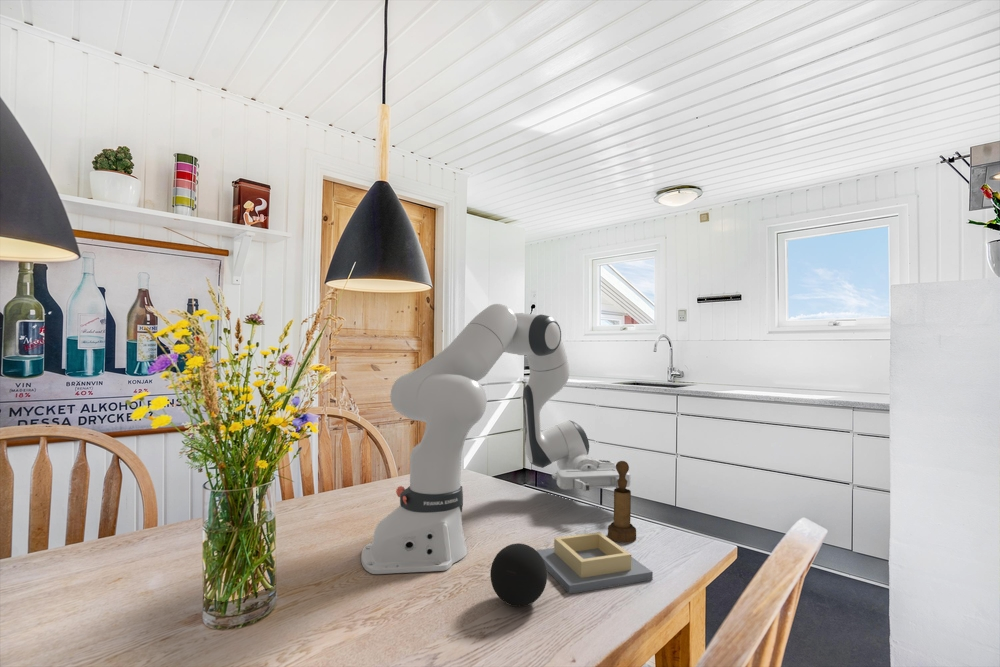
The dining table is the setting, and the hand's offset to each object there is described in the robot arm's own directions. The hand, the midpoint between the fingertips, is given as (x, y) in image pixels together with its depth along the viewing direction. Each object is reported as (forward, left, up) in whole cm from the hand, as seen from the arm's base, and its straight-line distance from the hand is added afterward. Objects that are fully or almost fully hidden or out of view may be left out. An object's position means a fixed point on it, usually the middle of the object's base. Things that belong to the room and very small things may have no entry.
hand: (604, 486), depth 127 cm
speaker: (-35, -30, -9) cm, 48 cm away
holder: (-16, -22, -9) cm, 29 cm away
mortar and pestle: (-1, -10, -9) cm, 14 cm away
